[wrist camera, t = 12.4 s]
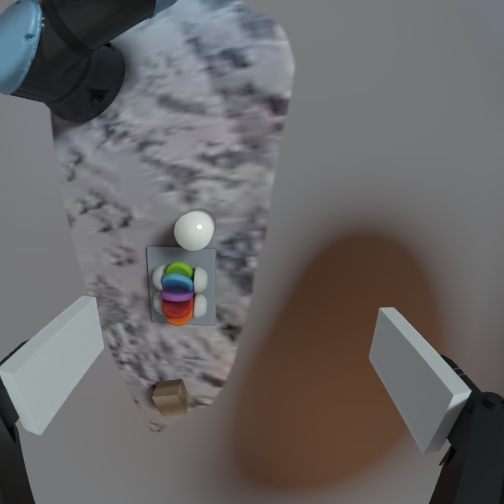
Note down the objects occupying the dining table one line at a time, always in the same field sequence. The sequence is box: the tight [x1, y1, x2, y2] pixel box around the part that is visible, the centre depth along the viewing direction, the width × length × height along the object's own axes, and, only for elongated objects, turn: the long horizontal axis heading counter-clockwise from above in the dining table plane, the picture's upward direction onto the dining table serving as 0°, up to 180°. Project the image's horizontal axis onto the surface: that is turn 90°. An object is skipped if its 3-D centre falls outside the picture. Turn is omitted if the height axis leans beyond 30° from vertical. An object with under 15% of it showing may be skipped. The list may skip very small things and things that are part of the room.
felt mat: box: [147, 246, 216, 325], centre depth 49 cm, size 13×11×1 cm
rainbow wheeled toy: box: [152, 261, 208, 326], centre depth 45 cm, size 8×10×7 cm
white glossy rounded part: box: [174, 209, 216, 251], centre depth 44 cm, size 5×5×7 cm
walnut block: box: [152, 379, 190, 416], centre depth 52 cm, size 5×5×5 cm
